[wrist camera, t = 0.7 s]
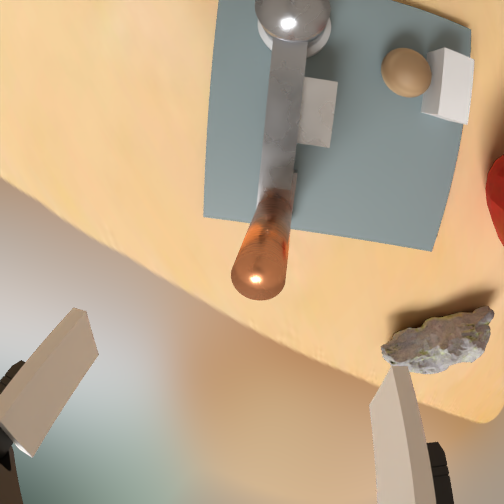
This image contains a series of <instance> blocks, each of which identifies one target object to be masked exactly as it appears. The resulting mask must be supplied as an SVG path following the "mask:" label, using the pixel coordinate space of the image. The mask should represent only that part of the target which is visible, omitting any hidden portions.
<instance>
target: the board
mask: <svg viewBox="0 0 504 504" xmlns="http://www.w3.org/2000/svg"><path fill="white" fill-rule="evenodd" d="M329 2H330V6H331V12H330V16H329V19H328V22H327V25H326V28H325V31H324V34H323V36H322V38H321V39H320V40H319V41H318V43H316V44H315V45H313V46H312V47H310V48H307V56H306V66H305V75H304V77H309V78H316V79H322V80H329V81H334V82H338V86H337V95H336V103H335V111H334V119H333V126H332V134H331V141H330V148H326V147H320V146H314V145H307V144H300V143H297V146H296V154H295V162H294V170H298V174H297V182H296V189H295V196H294V204H293V211H292V218H291V229H295V230H302V231H309V232H316V233H322V234H329V235H335V236H342V237H348V238H354V239H360V240H367V241H373V242H379V243H385V244H391V245H397V246H403V247H408V248H414V249H420V250H426V251H431V252H432V249H433V246H434V243H435V240H436V237H437V233H438V230H439V227H440V224H441V220H442V217H443V213H444V210H445V206H446V202H447V199H448V195H449V191H450V187H451V183H452V179H453V174H454V170H455V165H456V161H457V156H458V151H459V146H460V140H461V134H462V129H463V124H466V125H467V124H468V118H469V110H470V103H471V94H472V84H473V73H474V59H472V58H470V53H471V29H469V28H467V27H464V26H462V25H460V24H457V23H455V22H453V21H450V20H448V19H445V18H443V17H440V16H437V15H435V14H432V13H429V12H427V11H424V10H421V9H418V8H415V7H412V6H409V5H405V4H402V3H399V2H395V1H392V0H329ZM272 44H273V42H272V41H271V40H270V39H269V38H268V36H267V35H266V33H265V31H264V29H263V27H262V25H261V24H260V22H259V20H258V18H257V16H256V12H255V0H219V3H218V12H217V21H216V30H215V40H214V50H213V61H212V72H211V84H210V97H209V111H208V126H207V143H206V163H205V186H204V215H203V217H208V218H215V219H223V220H231V221H238V222H246V223H251V221H252V219H253V216H254V214H255V211H256V206H257V196H258V186H259V176H260V167H261V157H262V147H263V136H264V126H265V116H266V106H267V96H268V85H269V75H270V65H271V55H272ZM397 48H408V49H412V50H414V51H416V52H418V53H419V54H421V55H422V56H423V57H424V58H425V59H426V61H427V62H428V64H429V66H430V69H431V73H432V79H431V84H430V86H429V88H428V89H427V90H426V92H424V93H423V94H422V95H420V96H417V97H411V98H409V97H403V96H400V95H398V94H396V93H394V92H393V91H392V90H390V89H389V88H388V86H387V85H386V84H385V82H384V80H383V78H382V74H381V64H382V61H383V59H384V57H385V56H386V55H387V53H389V52H390V51H392V50H394V49H397Z"/></svg>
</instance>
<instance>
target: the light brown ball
mask: <svg viewBox="0 0 504 504" xmlns="http://www.w3.org/2000/svg"><path fill="white" fill-rule="evenodd" d="M381 74H382V78H383V80H384V82H385V84H386V85H387V86H388V88H389V89H390V90H392V91H393V92H394V93H396V94H398V95H400V96H403V97H409V98H411V97H417V96H420V95H422V94H423V93H424V92H426V90H427V89H428V88H429V86H430V84H431V79H432V73H431V69H430V66H429V64H428V62H427V61H426V59H425V58H424V57H423V56H422V55H421V54H419V53H418V52H416V51H414V50H412V49H408V48H397V49H394V50H392V51H390V52H389V53H387V55H386V56H385V57H384V59H383V61H382V64H381Z"/></svg>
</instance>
